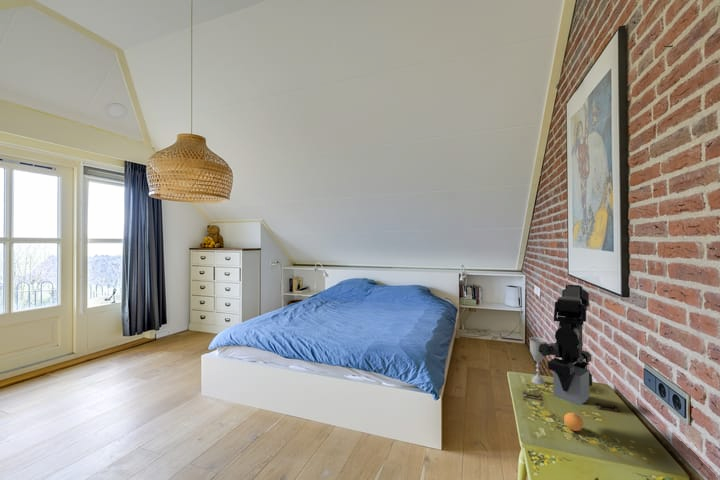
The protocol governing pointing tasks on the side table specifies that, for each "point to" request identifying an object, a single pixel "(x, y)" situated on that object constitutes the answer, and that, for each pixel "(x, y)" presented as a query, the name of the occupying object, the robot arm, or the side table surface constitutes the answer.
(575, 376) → the grey block
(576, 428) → the ball
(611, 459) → the side table surface
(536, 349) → the chalice
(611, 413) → the side table surface
